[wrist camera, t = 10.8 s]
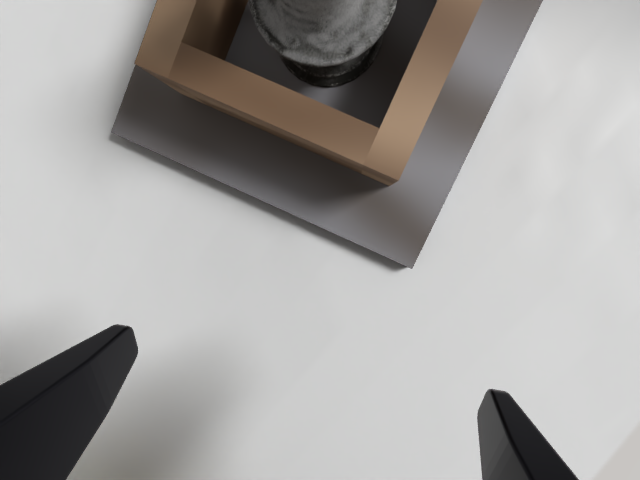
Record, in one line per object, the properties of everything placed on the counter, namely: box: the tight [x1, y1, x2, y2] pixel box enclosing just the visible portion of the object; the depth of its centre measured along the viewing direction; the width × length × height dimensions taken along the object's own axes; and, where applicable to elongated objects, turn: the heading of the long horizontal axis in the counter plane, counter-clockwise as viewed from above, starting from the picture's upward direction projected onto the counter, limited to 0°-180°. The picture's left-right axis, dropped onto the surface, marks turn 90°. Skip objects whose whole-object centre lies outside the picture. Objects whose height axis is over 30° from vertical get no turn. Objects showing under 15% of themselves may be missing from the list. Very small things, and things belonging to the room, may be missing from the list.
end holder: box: [111, 0, 543, 269], centre depth 16 cm, size 18×17×5 cm
